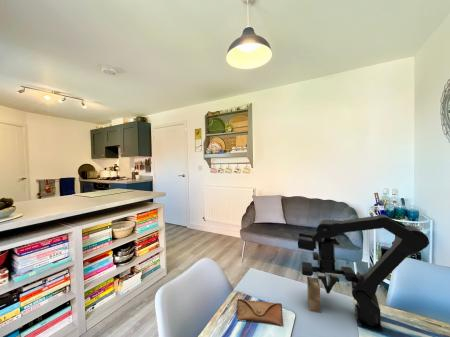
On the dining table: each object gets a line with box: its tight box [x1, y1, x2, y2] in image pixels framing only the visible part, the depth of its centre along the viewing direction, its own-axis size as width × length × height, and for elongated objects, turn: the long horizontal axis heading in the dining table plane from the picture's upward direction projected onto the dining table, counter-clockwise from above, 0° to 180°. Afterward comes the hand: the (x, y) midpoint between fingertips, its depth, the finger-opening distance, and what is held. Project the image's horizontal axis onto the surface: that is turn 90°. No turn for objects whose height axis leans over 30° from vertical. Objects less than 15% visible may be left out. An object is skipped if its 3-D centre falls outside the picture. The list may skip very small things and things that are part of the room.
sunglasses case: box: [236, 298, 285, 327], centre depth 73 cm, size 18×7×7 cm
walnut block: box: [306, 276, 322, 314], centre depth 76 cm, size 4×6×10 cm, turn 162°
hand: (327, 292), depth 75 cm, fingers closed
